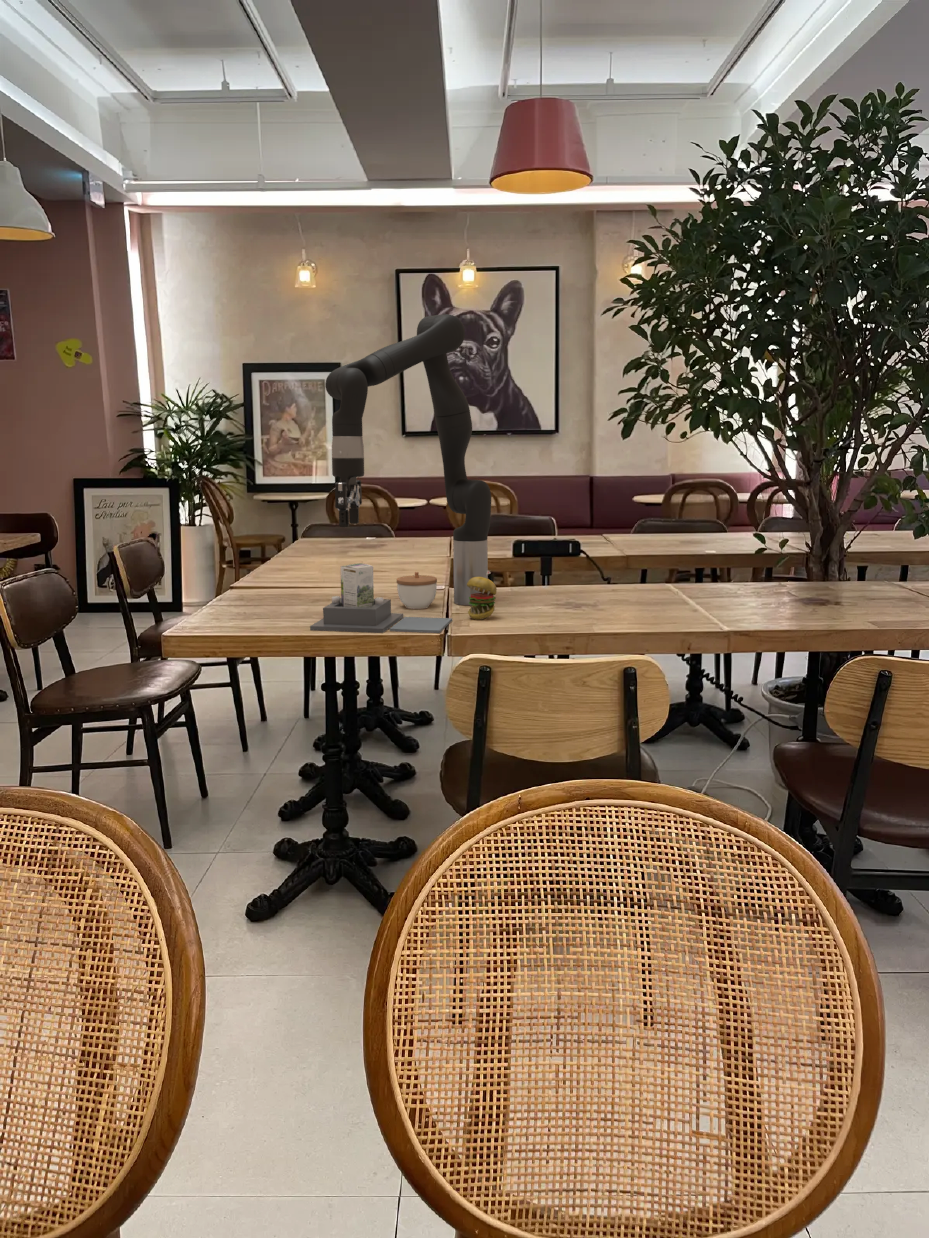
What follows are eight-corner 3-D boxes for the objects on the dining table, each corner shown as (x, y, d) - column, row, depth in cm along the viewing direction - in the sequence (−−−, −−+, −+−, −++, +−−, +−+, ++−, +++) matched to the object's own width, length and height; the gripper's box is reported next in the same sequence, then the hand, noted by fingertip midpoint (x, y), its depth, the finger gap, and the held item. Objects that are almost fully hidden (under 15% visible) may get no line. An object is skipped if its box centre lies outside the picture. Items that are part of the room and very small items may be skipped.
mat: (405, 619, 225) (405, 616, 225) (452, 620, 223) (452, 618, 223) (389, 631, 212) (389, 628, 212) (439, 633, 210) (439, 630, 209)
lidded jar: (389, 608, 239) (388, 573, 237) (410, 602, 248) (409, 568, 246) (424, 612, 234) (423, 576, 232) (444, 605, 243) (444, 570, 241)
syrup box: (358, 620, 225) (356, 562, 222) (375, 623, 221) (373, 564, 218) (341, 624, 220) (339, 565, 217) (358, 627, 217) (356, 567, 214)
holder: (335, 615, 231) (334, 590, 230) (403, 617, 227) (403, 592, 226) (310, 630, 214) (308, 603, 212) (383, 632, 210) (382, 605, 209)
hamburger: (460, 618, 226) (460, 570, 224) (481, 613, 231) (480, 567, 229) (482, 622, 221) (482, 574, 218) (503, 618, 226) (503, 570, 223)
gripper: (355, 457, 205) (356, 528, 208) (371, 455, 218) (372, 522, 222) (323, 456, 206) (325, 527, 209) (341, 455, 220) (342, 522, 223)
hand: (349, 525), depth 215 cm, fingers open, 8 cm apart
